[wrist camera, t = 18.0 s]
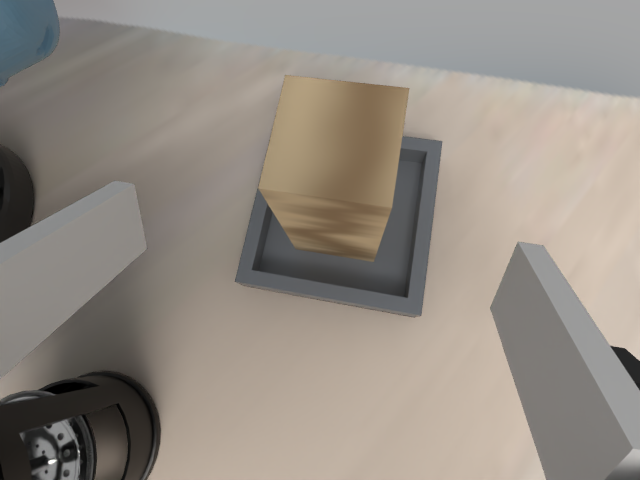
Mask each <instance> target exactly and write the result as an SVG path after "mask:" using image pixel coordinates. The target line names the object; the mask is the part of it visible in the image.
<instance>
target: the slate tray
mask: <svg viewBox="0 0 640 480" xmlns="http://www.w3.org/2000/svg"><path fill="white" fill-rule="evenodd" d="M270 137H271V136H270ZM269 141H270V140H269ZM268 145H269V144H268ZM441 148H442V141H436V140H428V139H420V138H412V137H404V136H402V142H401V149H400V156H399V163H398V170H397V177H396V184H395V190H394V197H393V204H392V209H391V212H390V215H389V218H388V221H387V224H386V227H385V230H384V233H383V236H382V239H381V242H380V245H379V248H378V251H377V254H376V257H375V260H374V262H371V261H365V260H359V259H353V258H346V257H340V256H334V255H328V254H322V253H316V252H310V251H304V250H298V249H295V247H294V246H293V244H292V242H291V241H290V239H289V237H288V236H287V234H286V233H285V231H284V229H283V228H282V226H281V224H280V223H279V221H278V220H277V218H276V216H275V215H274V213H273V212H272V210H271V208H270V207H269V205H268V203H267V202H266V200H265V199H264V197H263V195H262V194H261V192H260V190H259V189H257V193H256V197H255V201H254V205H253V210H252V214H251V218H250V222H249V226H248V230H247V234H246V238H245V242H244V246H243V250H242V254H241V258H240V262H239V266H238V271H237V275H236V279H235V282H237V283H239V284H241V285H244V286H247V287H253V288H258V289H263V290H269V291H274V292H280V293H285V294H290V295H296V296H301V297H307V298H312V299H317V300H323V301H328V302H334V303H339V304H344V305H350V306H355V307H361V308H366V309H371V310H377V311H382V312H388V313H393V314H398V315H404V316H409V317H418V316H421V314H422V305H423V297H424V289H425V280H426V272H427V264H428V255H429V247H430V239H431V231H432V222H433V214H434V206H435V197H436V189H437V181H438V172H439V164H440V156H441ZM264 162H265V161H264ZM263 166H264V165H263ZM262 170H263V169H262ZM261 174H262V173H261ZM260 178H261V177H260ZM259 182H260V181H259ZM258 186H259V185H258Z"/></svg>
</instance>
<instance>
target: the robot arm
mask: <svg viewBox="0 0 640 480" xmlns="http://www.w3.org/2000/svg"><path fill="white" fill-rule="evenodd" d="M59 34H60V27H59V20H58V15H57V11H56V8H55V5H54V2H53V0H0V87H1V86H4V84H5V83H6V82H7V81H8V78H9V77H11V76H13V75H14V74H16V73H18V72H20V71H22V70H24V69H26V68H28V67H30V66H31V65H33V64H35V63H37V62H39V61H41V60H43V59H45V58H46V57H48V56H49V55H50V54H51V53H52V52H53V51H54V49H55V48H56V46H57V43H58V40H59ZM32 210H33V187H32V182H31V179H30V176H29V173H28V171H27V169H26V167H25V165H24V164H23V162H22V161H21V160H20V159H19V158H18V156H17V155H16V154H14V153H13V152H12V151H11V150H9V149H8V148H6V147H4V146H2V145H1V144H0V379H1V378H2V377H3V376H4V375H5V374H6V373H8V372H9V371H10V370H11V369H12V368H13V367H14V366H16V365H17V364H18V363H19V362H20V361H21V360H22V359H23V358H25V357H26V356H27V355H28V354H29V353H30V352H31V351H32V350H34V349H35V348H36V347H37V346H38V345H39V344H40V343H41V342H43V341H44V340H45V339H46V338H47V337H48V336H49V335H50V334H52V333H53V332H54V331H55V330H56V329H57V328H58V327H59V326H61V325H62V324H63V323H64V322H65V321H66V320H67V319H68V318H70V317H71V316H72V315H73V314H74V313H75V312H76V311H78V310H79V309H80V308H81V307H82V306H83V305H84V304H85V303H87V302H88V301H89V300H90V299H91V298H92V297H93V296H94V295H96V294H97V293H98V292H99V291H100V290H101V289H102V288H103V287H105V286H106V285H107V284H108V283H109V282H110V281H111V280H112V279H114V278H115V277H116V276H117V275H118V274H119V273H120V272H121V271H123V270H124V269H125V268H126V267H127V266H128V265H129V264H131V263H132V262H133V261H134V260H135V259H136V258H137V257H138V256H140V255H141V254H142V253H143V252H144V251H145V250H146V249H147V244H146V239H145V234H144V229H143V224H142V219H141V214H140V209H139V204H138V199H137V195H136V190H135V185H134V184H133V183H127V182H120V181H113V182H111V183H110V184H108V185H106V186H104V187H102V188H100V189H99V190H97V191H95V192H93V193H91V194H89V195H88V196H86V197H84V198H82V199H80V200H78V201H77V202H75V203H73V204H71V205H69V206H67V207H66V208H64V209H62V210H60V211H58V212H56V213H55V214H53V215H51V216H49V217H47V218H45V219H43V220H42V221H40V222H38V223H36V224H34V225H32V226H31V227H29V223H30V220H31V216H32ZM28 227H29V228H28ZM490 309H491V312H492V315H493V318H494V321H495V324H496V327H497V330H498V333H499V336H500V339H501V342H502V345H503V349H504V352H505V355H506V358H507V361H508V364H509V367H510V370H511V373H512V376H513V379H514V382H515V385H516V388H517V391H518V394H519V397H520V400H521V403H522V406H523V410H524V413H525V416H526V419H527V422H528V425H529V428H530V431H531V434H532V437H533V440H534V443H535V446H536V449H537V452H538V455H539V458H540V461H541V464H542V467H543V470H544V474H545V477H546V480H640V361H639V360H638V359H636V358H635V357H634V356H633V355H632V354H631V353H630V352H628V351H627V350H626V349H625V348H619V347H614V346H610V345H609V344H608V342H607V341H606V339H605V337H604V336H603V334H602V333H601V331H600V330H599V328H598V327H597V325H596V324H595V322H594V321H593V319H592V318H591V316H590V315H589V313H588V312H587V310H586V309H585V307H584V306H583V304H582V303H581V301H580V300H579V298H578V297H577V295H576V294H575V292H574V291H573V289H572V288H571V286H570V285H569V283H568V282H567V280H566V279H565V277H564V276H563V274H562V273H561V271H560V270H559V268H558V267H557V265H556V264H555V262H554V261H553V259H552V258H551V256H550V255H549V253H548V252H547V250H546V249H545V247H544V246H543V245H537V244H530V243H524V242H517V245H516V247H515V250H514V252H513V254H512V257H511V259H510V262H509V264H508V266H507V269H506V271H505V274H504V276H503V278H502V281H501V283H500V286H499V288H498V290H497V293H496V295H495V297H494V300H493V302H492V305H491V307H490Z"/></svg>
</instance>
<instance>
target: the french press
mask: <svg viewBox="0 0 640 480" xmlns="http://www.w3.org/2000/svg"><path fill="white" fill-rule="evenodd" d="M115 405H117V407H118V409H119V411H120V413H121V415H122V416H123V420H124V423H125V426H126V430H127V438H128V454H127V462H126V466H125V470H124V474H123V477H122V479H121V480H147V478H148V476H149V475H150V473H151V471H152V468H153V466H154V463H155V461H156V458H157V453H158V449H159V444H160V425H159V418H158V414H157V411H156V408H155V405H154V403H153V401H152V399H151V397H150V396H149V394H148V393H147V391H146V390H145V389H144V388H143V387H142V386H141V385H140V384H139V383H138V382H136V381H135V380H133V379H132V378H130V377H128V376H126V375H123V374H121V373H117V372H110V371H102V372H92V373H89V374H85V375H82V376H80V377H78V378H74V379H67V380H62V381H59V382H55V383H51V384H49V385H47V386H45V387H43V388H41V389H39V390H34V391H22V392H19V393H15V394H12V395H9V396H7V397H5V398H3V399H1V400H0V480H94V479H95V474H96V463H97V452H96V442H95V438H94V434H93V430H92V427H91V425H90V423H89V420H88V418H87V417H86V415H85V414H88V413H91V412H95V411H98V410H101V409H105V408H108V407H111V406H115Z"/></svg>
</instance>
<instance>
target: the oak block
mask: <svg viewBox="0 0 640 480" xmlns="http://www.w3.org/2000/svg"><path fill="white" fill-rule="evenodd" d="M408 94H409V88H402V87H393V86H383V85H374V84H365V83H355V82H346V81H336V80H327V79H318V78H308V77H299V76H289V75H285V78H284V83H283V87H282V91H281V95H280V99H279V103H278V107H277V112H276V116H275V120H274V124H273V128H272V132H271V137H270V141H269V145H268V149H267V153H266V157H265V162H264V166H263V170H262V174H261V178H260V182H259V186H258V189H259V190H260V192H261V194H262V195H263V197H264V199H265V200H266V202H267V203H268V205H269V207H270V208H271V210H272V212H273V213H274V215H275V216H276V218H277V220H278V221H279V223H280V224H281V226H282V228H283V229H284V231H285V233H286V234H287V236H288V237H289V239H290V241H291V242H292V244H293V246H294V247H295V249H298V250H304V251H310V252H316V253H322V254H328V255H334V256H340V257H346V258H353V259H359V260H365V261H371V262H374V260H375V257H376V254H377V251H378V248H379V245H380V242H381V239H382V236H383V233H384V230H385V227H386V224H387V221H388V218H389V215H390V212H391V209H392V204H393V197H394V190H395V184H396V177H397V170H398V163H399V156H400V149H401V142H402V135H403V128H404V121H405V114H406V107H407V100H408Z"/></svg>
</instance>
